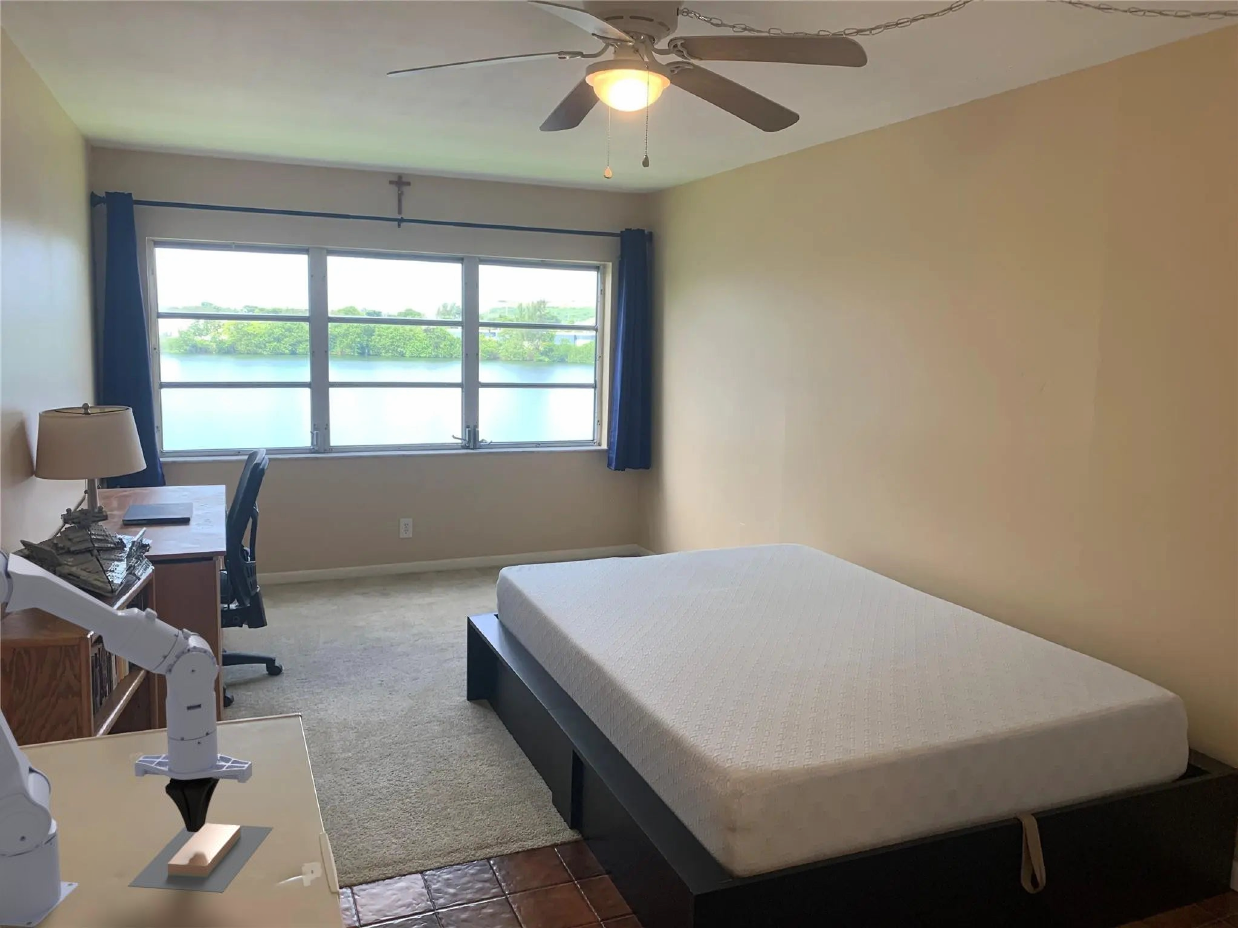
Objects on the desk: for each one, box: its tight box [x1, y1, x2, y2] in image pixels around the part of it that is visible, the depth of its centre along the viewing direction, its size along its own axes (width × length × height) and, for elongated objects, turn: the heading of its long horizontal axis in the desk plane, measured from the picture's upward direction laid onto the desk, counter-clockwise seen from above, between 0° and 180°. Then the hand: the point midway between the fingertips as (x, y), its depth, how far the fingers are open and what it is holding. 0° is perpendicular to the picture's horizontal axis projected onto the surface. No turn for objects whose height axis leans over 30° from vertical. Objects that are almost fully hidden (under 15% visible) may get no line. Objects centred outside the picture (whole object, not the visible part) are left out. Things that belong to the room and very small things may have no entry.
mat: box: [127, 823, 274, 893], centre depth 113 cm, size 12×14×1 cm
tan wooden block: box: [168, 822, 241, 878], centre depth 113 cm, size 2×9×5 cm
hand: (196, 827), depth 113 cm, fingers closed
